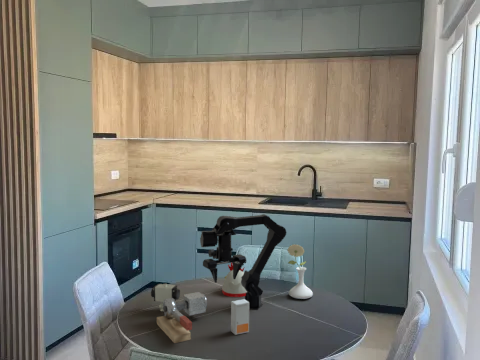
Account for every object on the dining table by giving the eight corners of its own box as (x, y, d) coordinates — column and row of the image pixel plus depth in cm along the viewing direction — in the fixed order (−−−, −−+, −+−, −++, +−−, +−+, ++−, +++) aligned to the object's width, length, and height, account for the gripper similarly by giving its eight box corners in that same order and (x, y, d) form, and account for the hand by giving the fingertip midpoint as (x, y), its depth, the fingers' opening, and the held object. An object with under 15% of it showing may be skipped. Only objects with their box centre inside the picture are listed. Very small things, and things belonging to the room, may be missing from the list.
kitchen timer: (225, 287, 226) (225, 258, 224) (252, 288, 224) (252, 259, 222) (220, 296, 212) (220, 265, 211) (248, 297, 210) (248, 266, 209)
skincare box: (235, 335, 169) (235, 304, 168) (230, 331, 173) (230, 301, 172) (249, 332, 172) (249, 302, 171) (244, 328, 176) (244, 298, 175)
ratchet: (185, 310, 187) (185, 292, 186) (209, 331, 166) (209, 312, 165) (161, 315, 182) (161, 296, 181) (183, 337, 161) (183, 317, 160)
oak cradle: (173, 320, 183) (172, 308, 183) (191, 339, 166) (191, 325, 165) (156, 323, 180) (156, 311, 179) (174, 343, 162) (174, 329, 162)
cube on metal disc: (200, 306, 190) (200, 291, 189) (207, 311, 184) (207, 296, 184) (183, 310, 186) (183, 294, 185) (189, 315, 180) (189, 299, 180)
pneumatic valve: (176, 313, 190) (176, 286, 189) (151, 311, 193) (150, 284, 192) (181, 309, 196) (180, 282, 195) (156, 306, 198) (156, 280, 197)
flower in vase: (316, 295, 213) (317, 244, 211) (306, 302, 203) (307, 248, 201) (292, 290, 220) (292, 240, 218) (281, 297, 210) (281, 245, 208)
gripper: (234, 239, 204) (234, 272, 205) (197, 244, 195) (197, 279, 196) (246, 244, 194) (247, 279, 196) (208, 249, 185) (208, 286, 186)
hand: (225, 280), depth 194 cm, fingers open, 9 cm apart
